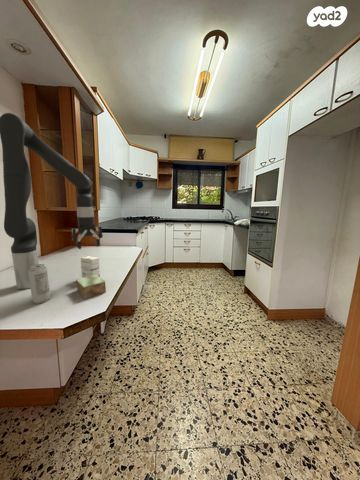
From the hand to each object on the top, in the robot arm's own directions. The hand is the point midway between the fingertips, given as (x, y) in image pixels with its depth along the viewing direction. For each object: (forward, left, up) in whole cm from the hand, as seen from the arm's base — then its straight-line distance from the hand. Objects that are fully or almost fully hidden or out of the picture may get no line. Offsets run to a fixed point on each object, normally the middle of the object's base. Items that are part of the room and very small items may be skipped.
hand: (88, 247), depth 97 cm
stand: (-5, -15, -17) cm, 23 cm away
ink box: (0, 0, -18) cm, 18 cm away
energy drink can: (-23, -10, -18) cm, 31 cm away
